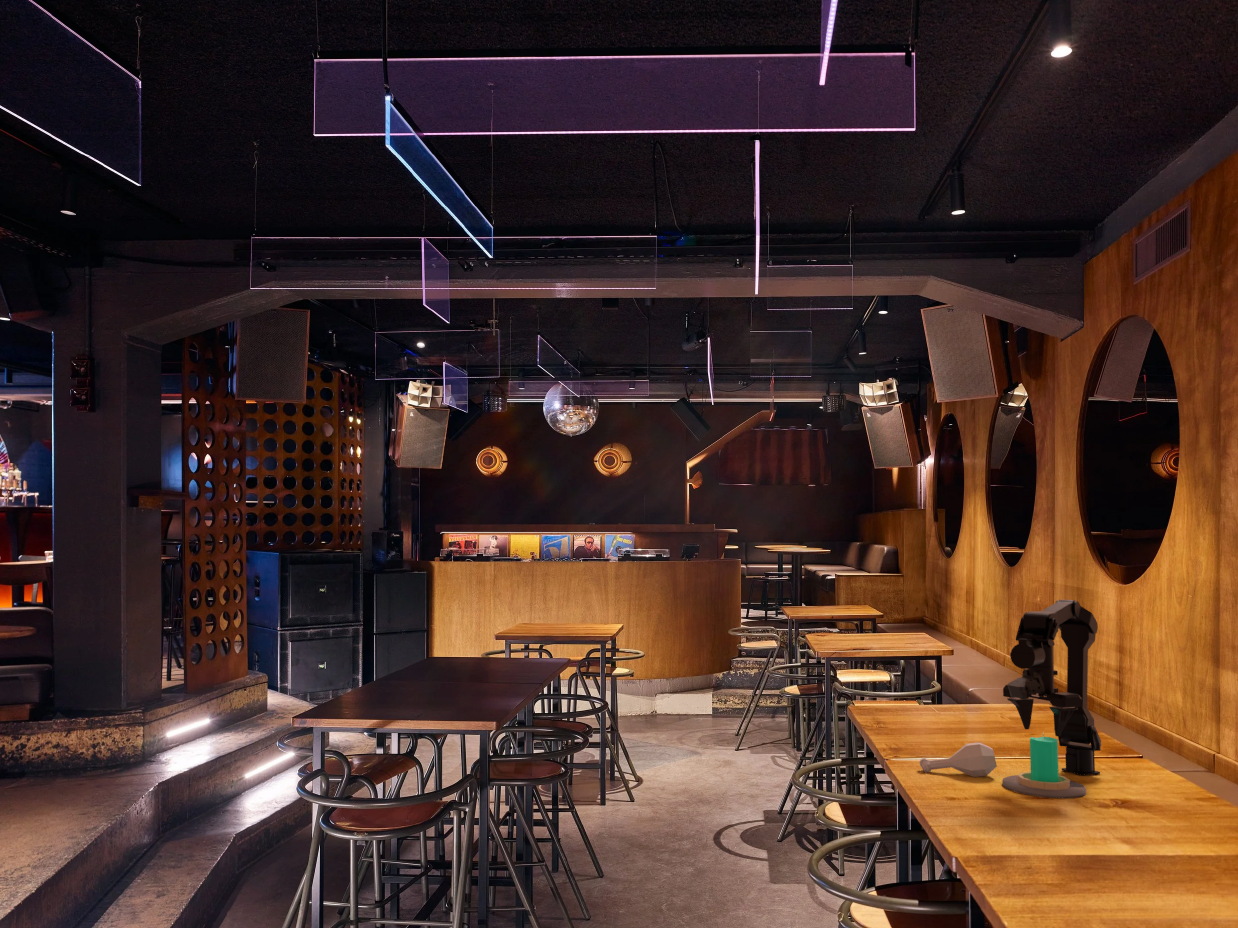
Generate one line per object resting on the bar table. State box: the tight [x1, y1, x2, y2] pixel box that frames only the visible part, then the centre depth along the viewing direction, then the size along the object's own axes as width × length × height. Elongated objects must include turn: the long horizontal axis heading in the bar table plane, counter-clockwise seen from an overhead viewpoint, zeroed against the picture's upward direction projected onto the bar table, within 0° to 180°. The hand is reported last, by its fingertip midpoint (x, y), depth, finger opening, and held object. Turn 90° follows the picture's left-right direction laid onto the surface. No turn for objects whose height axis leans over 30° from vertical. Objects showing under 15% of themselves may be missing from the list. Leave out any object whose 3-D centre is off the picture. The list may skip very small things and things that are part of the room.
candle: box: [1029, 731, 1060, 782], centre depth 223 cm, size 6×6×12 cm
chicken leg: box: [919, 741, 998, 778], centre depth 236 cm, size 8×18×8 cm, turn 71°
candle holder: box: [1001, 771, 1087, 799], centre depth 222 cm, size 18×18×2 cm
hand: (1042, 732), depth 223 cm, fingers open, 9 cm apart
